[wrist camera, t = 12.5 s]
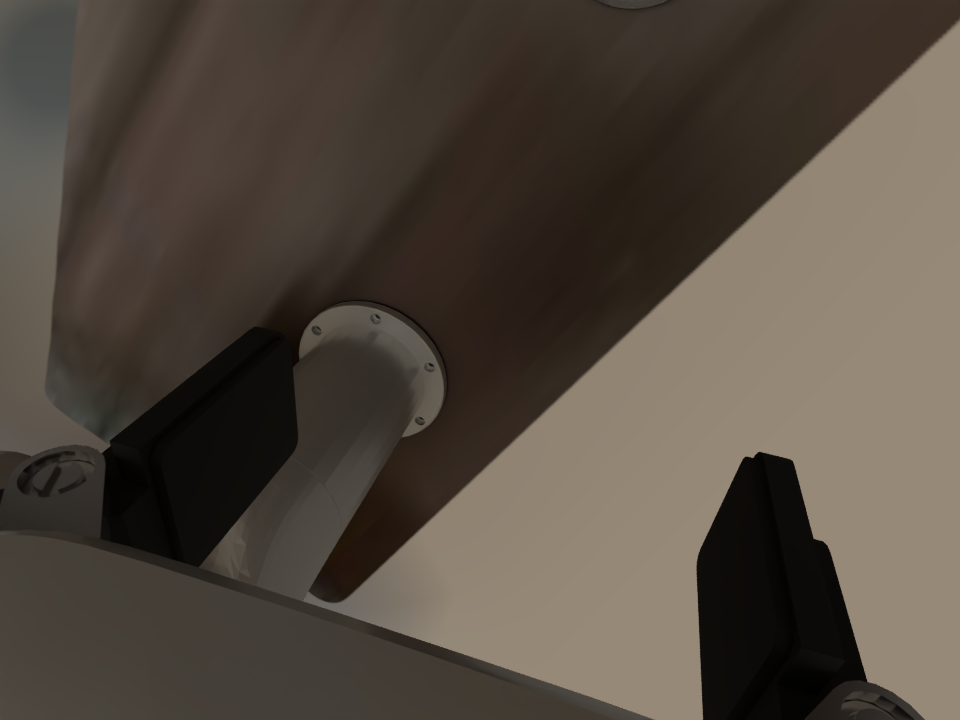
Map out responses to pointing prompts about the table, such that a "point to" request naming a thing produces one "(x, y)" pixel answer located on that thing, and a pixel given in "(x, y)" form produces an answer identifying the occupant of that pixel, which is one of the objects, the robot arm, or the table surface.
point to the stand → (632, 3)
